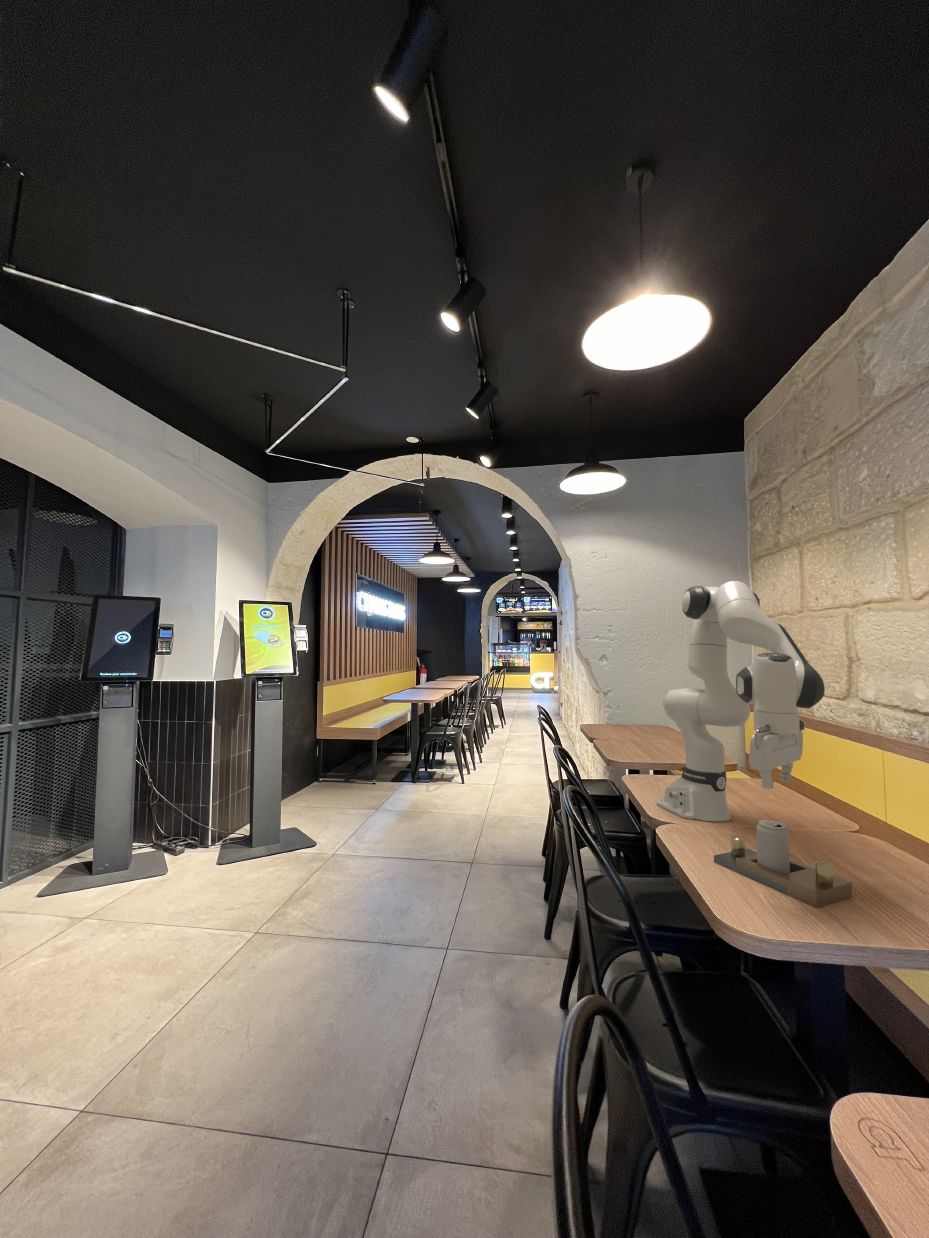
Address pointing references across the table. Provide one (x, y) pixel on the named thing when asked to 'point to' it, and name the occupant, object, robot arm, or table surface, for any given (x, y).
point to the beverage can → (773, 846)
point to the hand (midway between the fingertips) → (776, 784)
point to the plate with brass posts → (789, 876)
